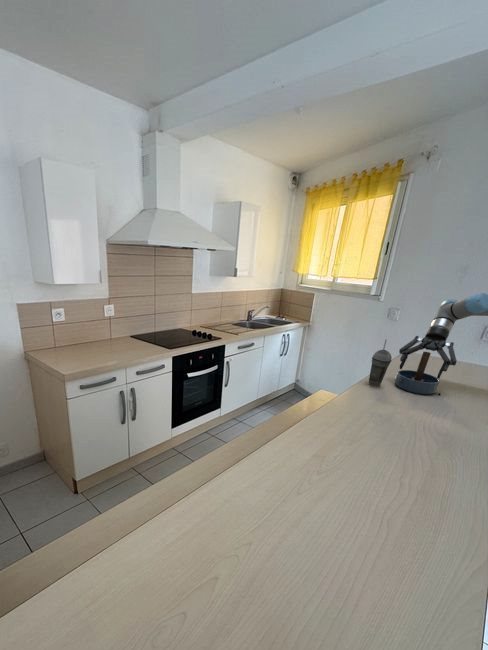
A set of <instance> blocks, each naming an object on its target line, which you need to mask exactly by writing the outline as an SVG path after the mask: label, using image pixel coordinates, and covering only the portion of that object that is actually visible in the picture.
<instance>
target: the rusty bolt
mask: <svg viewBox="0 0 488 650" xmlns="http://www.w3.org/2000/svg"><path fill="white" fill-rule="evenodd" d="M430 357H431V352H429V351H423V352H422V355H421V357H420V361H419V363H418V366H417V369H416V371H417V372H416V375H415V377H412V378H411V379H412V380H415V381H420V382H424V380H423V379H422V377H423V374H424V373H425V371H426V368H427V366H428V363H429V360H430Z"/></svg>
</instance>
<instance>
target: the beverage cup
mask: <svg viewBox="0 0 488 650" xmlns="http://www.w3.org/2000/svg"><path fill="white" fill-rule="evenodd" d="M387 340H388V339H387V338H386V339H385V340H384V343H383V348H382V349H379V350H377V351H376V352H374V354H373V355H372V357H371V367H370V372H369V377H368V385H369V386H373V387H381V384H382V383H383V380H384V378H385V375H386V373H387V370H388V368H389V366H390V364H391V362H392V354H391V353H390V351H388V350H386V346H387V345H386V344H387Z"/></svg>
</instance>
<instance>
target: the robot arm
mask: <svg viewBox="0 0 488 650" xmlns="http://www.w3.org/2000/svg"><path fill="white" fill-rule="evenodd" d="M475 316H476V317H488V294H487V292H480V293H479V292H478V293H477V294H472V295H470V296H468V297H465V298H463V299H460V300H458V299H453V298H452V299H445V300H444V301H442V303H440V306H439V307H438V308H437V312H436V313H435V316H434V318H433V319H432V321H431V324H430V325H429V327H428V329H427V331H426V334H425V335H424V337H419V335H415V337H414V338H413V339H412V340H411V341H409V342H407V343H406V344H405V345H404V346H402V347H401V348H399V351H398V352H399V354H400V355H401V357H400V358H399V360H400V364H399V370H403V367H404V366H405V364H406V362H407V360H408V356H409V355H412V354H414V353H416V352H419V351H422V350H424V349H425V350H427V351H432V352H435V351H436V353H437V354H439V356H440V358H441V359H442V361H443V363H442V365H441V367H440V369H439V371H438V373H437V378H438V379H440V378H441V376H442V374H443V372H447V371H448V369H449V367H450V366H453V367H454V366H456V365H457V362H458V361H457V358H456V353H455V349H454V345H455V343H454V342H452V341H451V342H450V343H449V342H447V340H448V338H449V335H450V334H451V331H452V330H453V327H454V325H455V323H456V321H458V320H462V319H467V318H468V317H469V318H470V317H475ZM418 343H419V344H418ZM445 347H446V349H447V350H448V354H449V356H448V355H447V353H446V352H445V350H444V348H445Z"/></svg>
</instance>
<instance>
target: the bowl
mask: <svg viewBox="0 0 488 650" xmlns="http://www.w3.org/2000/svg"><path fill="white" fill-rule="evenodd" d="M416 372H417V370H410V369H399V370H398V371H397V372H396V374H395V377H394V381H393V382H394V384H395V385H396V386H397V388H399V389H401V390H403V391H406V392H409V393H413V394H417V395H432V394H435V393H436V392H437V391H438V389H439V386H440V384H441V379H440V378H437V377H436V376H434V375H432V374H429V373H427V372H424V374H423V377H422V379H423V380H424V382H420V381H415V380H412V379H411V378H412V377H415V375H416Z"/></svg>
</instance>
